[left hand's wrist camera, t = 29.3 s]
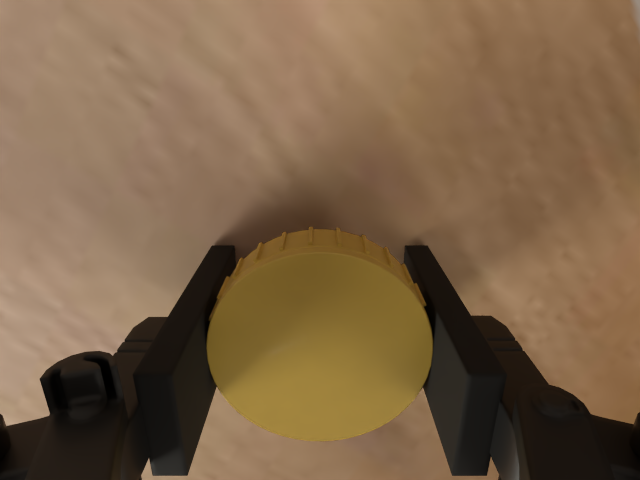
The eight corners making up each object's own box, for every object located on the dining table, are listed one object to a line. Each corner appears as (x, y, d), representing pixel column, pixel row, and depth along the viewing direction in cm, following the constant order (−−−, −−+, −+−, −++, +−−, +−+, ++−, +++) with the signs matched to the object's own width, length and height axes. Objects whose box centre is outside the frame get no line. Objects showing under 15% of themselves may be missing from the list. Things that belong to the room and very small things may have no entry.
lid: (174, 309, 12) (153, 342, 11) (336, 180, 11) (339, 198, 9) (306, 431, 14) (304, 475, 12) (462, 333, 12) (481, 369, 11)
